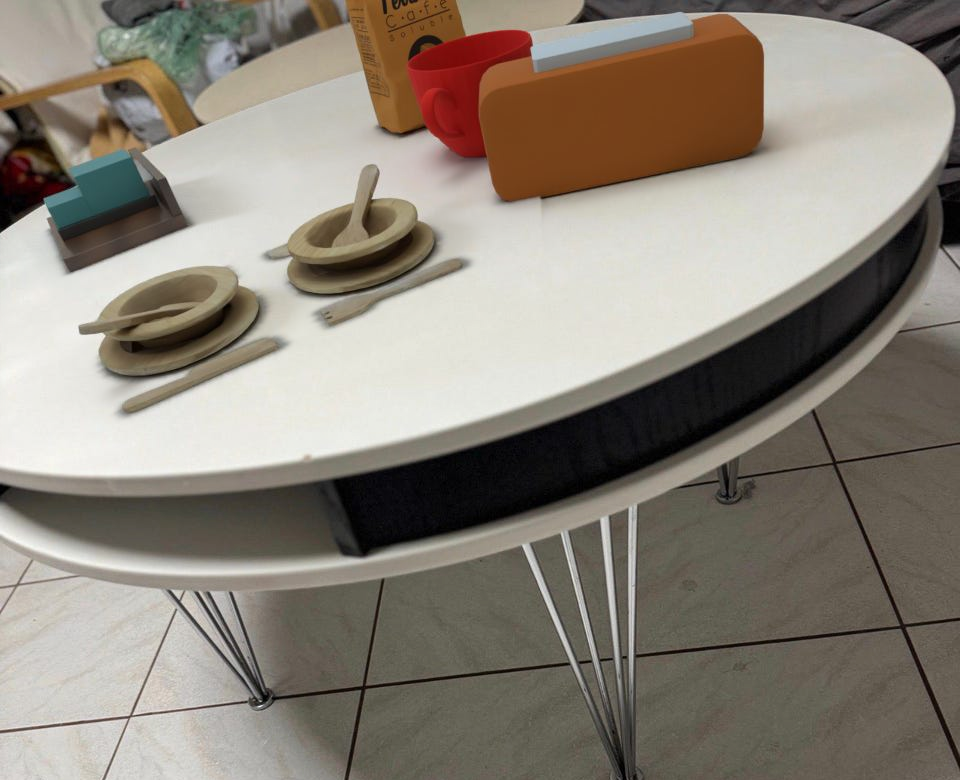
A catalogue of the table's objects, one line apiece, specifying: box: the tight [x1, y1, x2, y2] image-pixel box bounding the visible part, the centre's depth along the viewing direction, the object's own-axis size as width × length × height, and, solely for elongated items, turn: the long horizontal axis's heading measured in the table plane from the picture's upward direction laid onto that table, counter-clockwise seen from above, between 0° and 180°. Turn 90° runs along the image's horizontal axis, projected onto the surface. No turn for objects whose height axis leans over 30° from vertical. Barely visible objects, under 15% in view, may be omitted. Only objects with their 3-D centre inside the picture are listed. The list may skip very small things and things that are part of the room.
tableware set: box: [77, 163, 463, 414], centre depth 68 cm, size 30×20×6 cm, turn 118°
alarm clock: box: [479, 11, 765, 202], centre depth 73 cm, size 24×8×11 cm, turn 89°
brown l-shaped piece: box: [46, 147, 189, 273], centre depth 92 cm, size 13×18×6 cm
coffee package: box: [345, 0, 467, 134], centre depth 95 cm, size 10×12×22 cm
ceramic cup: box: [407, 29, 534, 159], centre depth 84 cm, size 13×17×10 cm
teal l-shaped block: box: [43, 148, 159, 241], centre depth 91 cm, size 11×5×6 cm, turn 120°
